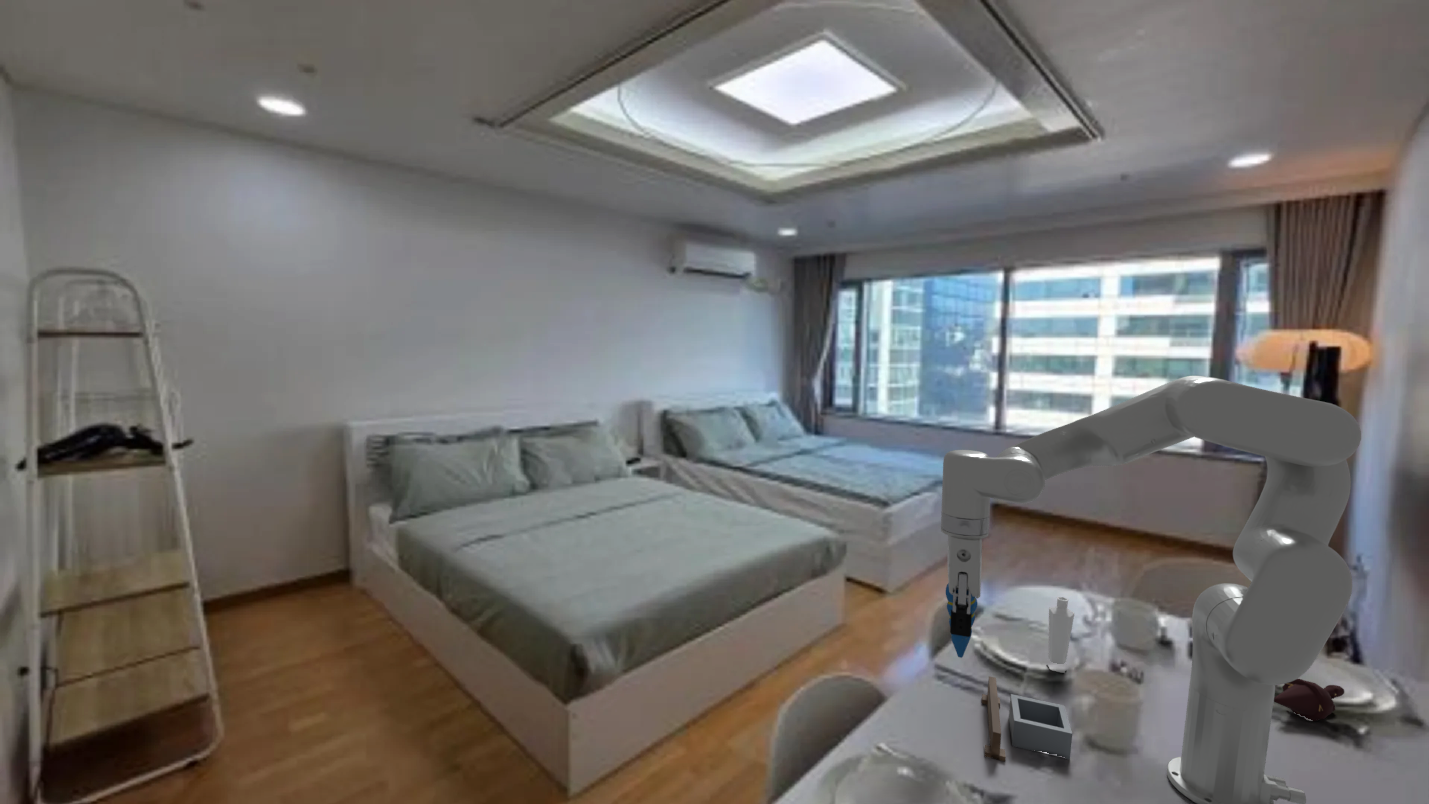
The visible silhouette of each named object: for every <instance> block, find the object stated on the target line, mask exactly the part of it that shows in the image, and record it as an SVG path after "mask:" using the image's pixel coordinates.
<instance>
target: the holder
mask: <svg viewBox="0 0 1429 804" xmlns="http://www.w3.org/2000/svg"><path fill="white" fill-rule="evenodd" d="M1008 709H1009V710H1008V723H1009V730H1010V740H1011V741H1010V742H1011V746H1012V747H1014V748H1019V749H1022V750H1027V751H1032V750H1033V751H1032V752H1035V751H1042V752H1047V753H1049V754H1057V756H1062V757H1065V758H1066V759H1065V760H1068V759H1069V760H1068V761H1070V760H1071V753H1072V752H1071V751H1072V741H1073V731H1072V729H1071V724H1070V721H1069V717H1068V713H1067V710H1066V706H1065V705H1064V704H1059V703H1054V702H1050V701H1045V700H1041V699H1036V698H1031V697H1026V696H1021V695H1017V694H1013V693H1010V698H1009V708H1008ZM1034 750H1035V751H1034Z"/></svg>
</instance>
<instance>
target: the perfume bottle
mask: <svg viewBox="0 0 1429 804" xmlns="http://www.w3.org/2000/svg"><path fill="white" fill-rule="evenodd" d="M1056 598H1057V600H1056V606H1051V607H1049V608H1048V659H1050V661H1051V662H1053V663H1057V664H1064V663H1065V662H1066V663H1067V658H1068V652H1069V647H1070V642H1071V634H1072V631H1073V630H1072V629H1073V625H1074V619H1075V618H1074V617H1075V612H1074V611H1073V610H1070V609H1069V608H1068V605H1069V600H1070V599H1069V598H1066V597H1064V596H1057V597H1056Z"/></svg>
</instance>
